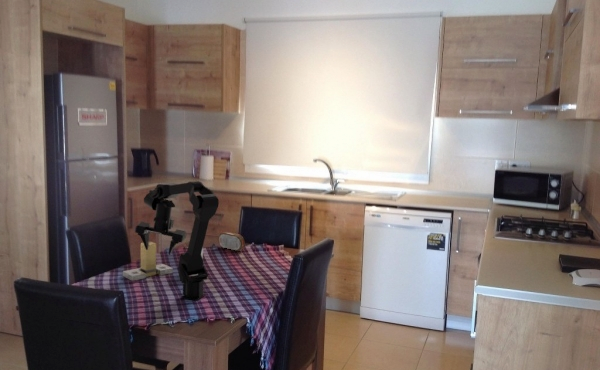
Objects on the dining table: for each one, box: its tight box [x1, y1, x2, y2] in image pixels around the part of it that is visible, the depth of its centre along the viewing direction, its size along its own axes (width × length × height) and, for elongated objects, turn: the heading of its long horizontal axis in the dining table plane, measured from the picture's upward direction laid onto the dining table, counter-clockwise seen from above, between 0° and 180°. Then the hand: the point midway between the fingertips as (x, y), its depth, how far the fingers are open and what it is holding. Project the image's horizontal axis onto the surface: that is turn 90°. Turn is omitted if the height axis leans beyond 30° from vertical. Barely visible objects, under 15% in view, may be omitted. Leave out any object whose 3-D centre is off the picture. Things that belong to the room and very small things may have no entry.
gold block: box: [139, 241, 157, 278], centre depth 215 cm, size 5×5×13 cm
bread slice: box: [218, 231, 246, 252], centre depth 261 cm, size 15×3×8 cm, turn 58°
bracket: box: [122, 263, 174, 282], centre depth 216 cm, size 8×18×2 cm, turn 134°
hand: (158, 252), depth 207 cm, fingers open, 9 cm apart
